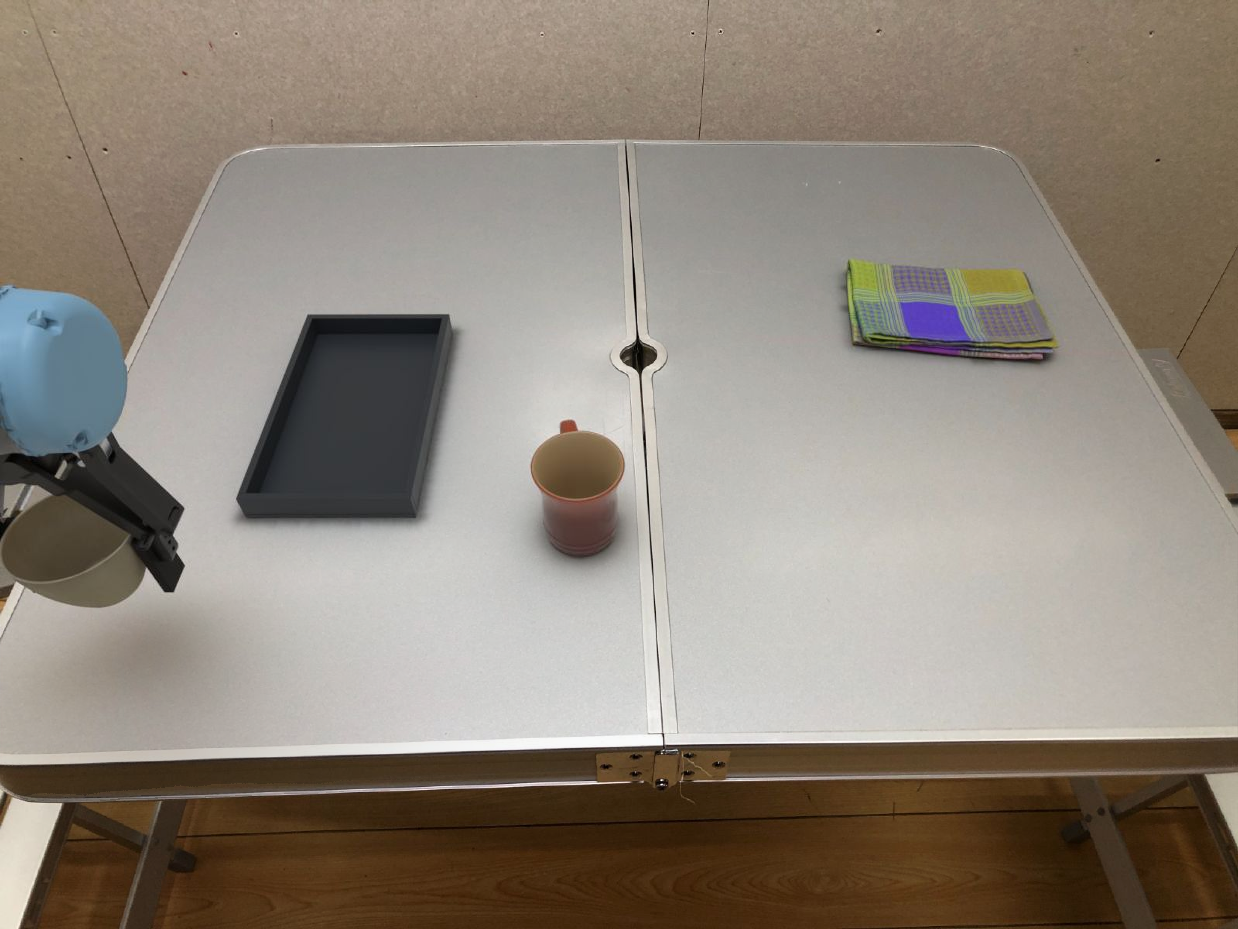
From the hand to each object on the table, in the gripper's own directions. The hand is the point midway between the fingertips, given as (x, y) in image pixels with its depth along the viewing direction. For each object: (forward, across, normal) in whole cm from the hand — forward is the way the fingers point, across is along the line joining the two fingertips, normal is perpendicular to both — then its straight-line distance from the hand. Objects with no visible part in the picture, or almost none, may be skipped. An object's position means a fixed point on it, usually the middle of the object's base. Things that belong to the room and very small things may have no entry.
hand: (110, 579), depth 69 cm
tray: (+10, -12, -29) cm, 33 cm away
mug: (+10, -38, -14) cm, 42 cm away
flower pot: (+1, 0, 0) cm, 1 cm away
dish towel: (+9, -84, -48) cm, 97 cm away
